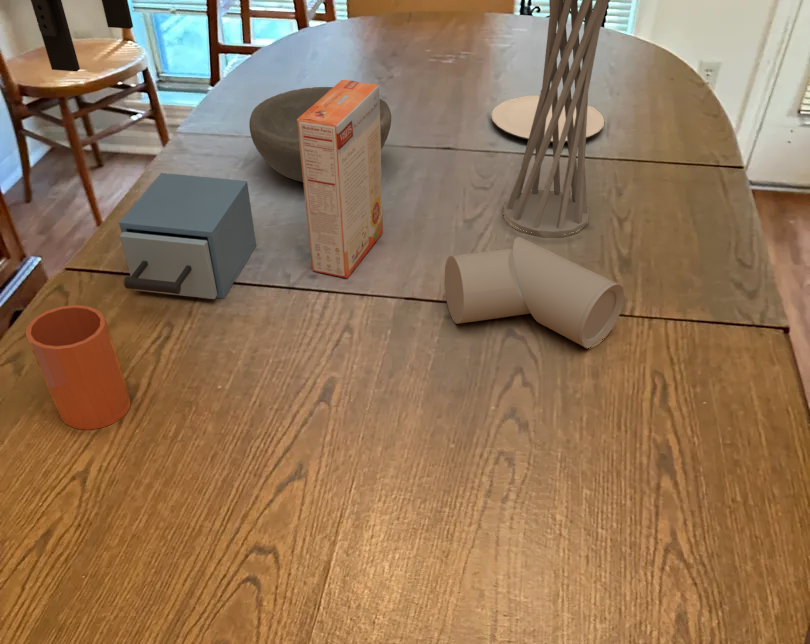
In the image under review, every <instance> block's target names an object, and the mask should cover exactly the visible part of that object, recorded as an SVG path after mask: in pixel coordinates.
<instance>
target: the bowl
mask: <svg viewBox="0 0 810 644" xmlns="http://www.w3.org/2000/svg"><path fill="white" fill-rule="evenodd" d="M333 87H334V86H314V87H305V88H304V87H303V88H298V89H293V90H289V91H285V92H282V93H281V92H280V93H278V94H276V95H273V96H270V97H269V98H266V99H265V100H263V101H262V102H260V103H259V104H257V105H256V106H255V107H254V109H252V111H251V114H250V118H249V122H248V123H249V133H250V137H251V140H252V142H253V145H254V146H255V149H256V150H257V152H258V153H259V155H260V156H261V157H262V159H263V160H264V161H265V162H266V164H267V165H269V166H270V167H271V168H272V169H273V170H275V171H276V172H278V173H279V174H281V176H284V177H286V178H288V179H291V180H293V181H297V182H301V183H303V174H302V165H301V155H300V146H299V135H298V126H297V119H298V118H299V117H300V116H301V115H302V114H303V113H305V112H306V111H307V110H308V109H309V108H310V107H312V106H313V105H314V104H315V103H316V102H317V101H318V100H320V99H321V98H322V97H323V96H324V95H325V94H326V93H327V92H329V91H330V90H331V89H332V88H333ZM391 126H392V113H391V110H390V107H389V104H388V103H387V102H386V101H385V100H383V99H382V98H380V134H381V150H383V148H384V145H385V143H386V141H387V139H388V136H389V133H390V130H391Z"/></svg>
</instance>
